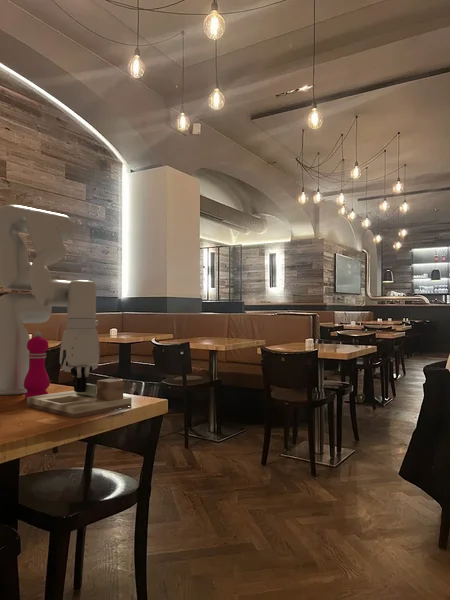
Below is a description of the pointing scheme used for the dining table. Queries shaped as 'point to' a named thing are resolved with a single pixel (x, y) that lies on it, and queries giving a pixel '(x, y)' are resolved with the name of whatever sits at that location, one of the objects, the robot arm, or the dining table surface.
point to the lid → (90, 390)
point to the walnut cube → (110, 389)
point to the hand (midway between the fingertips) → (79, 391)
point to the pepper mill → (37, 367)
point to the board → (75, 404)
